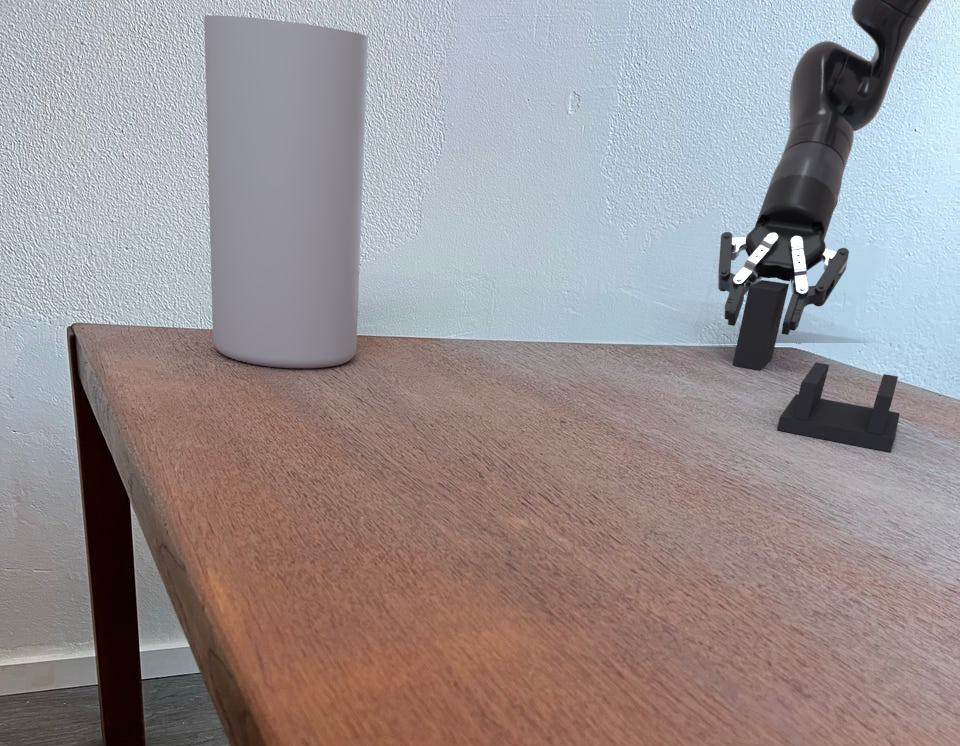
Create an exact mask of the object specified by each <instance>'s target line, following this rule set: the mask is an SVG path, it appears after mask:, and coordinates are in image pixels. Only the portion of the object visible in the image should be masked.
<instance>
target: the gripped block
mask: <svg viewBox="0 0 960 746" xmlns="http://www.w3.org/2000/svg"><path fill="white" fill-rule="evenodd" d="M789 286H790V283H787V282H786V283H785V282H778V281H772V280H766V279H761V280H760V281H759V282H757V283H755V284H753V285H751V286H750V287H749V290H748V292H747V293H746V300H745V305H744V309H743V313H742V318H741V323H740V327H739V333H738V337H737V341H736V345H735V351H734V356H733V360H732V366H733V365H734V366H735V367H740V368H744V367H745V369H751V370H756V371H761V370H762V369H763V368H764V367H765V366H766V365H768V363H769V362H770V361H771V360H772V359H773V357H774V356H773V355H774V352H775V348H776V342H777V339H778V334H779V330H780V325H781V322H782V321H781V320H782V316H783V313H784V308H785V303H786V300H787V295H788V291H789V288H790V287H789Z"/></svg>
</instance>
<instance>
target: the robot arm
mask: <svg viewBox="0 0 960 746" xmlns="http://www.w3.org/2000/svg"><path fill="white" fill-rule="evenodd" d="M931 2H932V0H854V2H853V4H852V7H851V13H850V14H851V17H852V20H853V21H854V22H855V24H856V25H857V26H858V27H859V28H860V29H861V30H863V32H865V34H866V35H867V36H869V37H870V38H871V39H872V41H873V42H874V46H875V50H874V53H873V56H872V58H871V60H868V59H866V58H865V57H862V55H859V54H857V53H856V52H854V51H852V50H850V49H848V48H846V47H844V46H843V45H841V44H839V43H838V42H834V41H830V40H825V41H820V42H818V43H816V44H814V45H812V46H811V47H810V48H808V49H807V50H806V51H805V52H804V54H802V56H801V58H800V59H799V60H798V63H797V65H796V66H795V69H794V72H793V75H792V78H791V82H790V88H789V102H788V103H789V129H788V130H789V132H788V137H787V140H786V143H785V146H784V149H783V151H782V155H781V158H780V160H779V162H778V164H777V165H776V167H775V170H774V171H773V174H772V176H771V179H770V182H769V185H768V187H767V191H766V193H765V195H764V199H763V202H762V205H761V208H760V211H759V213H758V216H757V219H756V222H755V225H754V227H753V229H752V230H751V231H750V232H749V233H748V234H746V236H743V237H742V236H739V237H733V233H732V232H731V231H724V232H723V233H722V234H721V235H720V246H719V258H718V259H719V260H718V273H717V274H718V277H717V278H718V279H717V289H718V290H719V291H720V292H728V296H727V299H726V302H725V304H724V320H727V326H733V327H736V325H737V322H738V319H739V316H740V313H741V309H742V306H743V304H744V302H745V296H746V295H747V294H748V290H749V287H750V286H751V285H753V284H755V283H757V282H759V281H761V280H763V279H762V278H764V279H778V280H781V281H782V282H783V281H784V282H789V283H790V288H791V297H790V299H789V303H788V305H787V309H786V311H785V314H784V318H783V322H782V325H781V327H782V328H781V335H784V336H785V335H787V336H789V335H790V332H791V331H794V332H795V331H796V330H797V328H798V327H799V325H800V321H801V318H802V314H803V312H804V309H805V308H806V307H807V306H809V305H814V306H815V307H823V306H824V305H825V303H826V301H827V300H828V299H829V297H830V296H831V294H832V292H833V291H834V290H835V287H836V286H837V285H838V283H839V281H840V279H842V277H843V275H844V273H845V272H846V269H847V265H848V260H849V254H850V251H849V249H848V248H846V247H840V248H839V249H837V251H836V250H833V249H830V248H827V246H826V242H825V239H826V236H827V233H828V230H829V227H830V224H831V220H832V218H833V214H834V212H835V210H836V207H837V205H838V202H839V196H840V192H841V189H842V183H843V176H844V172H845V169H846V166H847V164H848V160H849V157H850V155H851V151H852V148H853V145H854V140H855V139H854V138H855V134H854V132H857V131H859V130H862V129H864V128H865V127H866V126H867V125H869V124H870V123H871V122H872V121H873V120H874V119H875V117H876V116H877V115H878V113H879V111H880V109H881V107H882V105H883V103H884V100H885V97H886V95H887V92H888V89H889V86H890V83H891V81H892V77H893V75H894V72H895V70H896V67H897V65H898V61H899V60H900V57H901V55H902V52H903V51H904V48H905V46H906V44H907V42H908V39H909V37H910V36H911V34H912V32H913V30H914V29H915V27H916V25H917V23H918V22H919V20H920V18H921V17H922V16H923V14H924V13H925V11H926V10H927V8H928V7H929V5H930V3H931ZM742 251H745V253H746V254H747V257H748V258H747V259H746V260H745V262H744V265H743V266H742V267H741V268H740V269H739V271H738V272H737V273H736V274H734V273H732V272H731V271H732V270H731V269H732V261H736V259H737V258H738V257H739V255H740V253H741V252H742ZM821 262H823V263H824V265H823V273H822V274H821V276H820V278H819V279H818V281H817V282H816V283H815V285H809V283H808V276H807V272H808V271H809V270H811V269H812V268H814V267H815V266H816V265H818V264H819V263H821Z"/></svg>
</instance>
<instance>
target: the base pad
mask: <svg viewBox="0 0 960 746" xmlns="http://www.w3.org/2000/svg"><path fill="white" fill-rule="evenodd" d="M829 367H830V364H827V363H823V362H822V363H821V362H815V363H814V364H813V366H812V367H811V368H810V370H809V371H808V372H807V374H806V375H805V377H804V378H803V379H802V380H801V383H800V387H799V391H798V394H797V393H795V395H794V396H793V397H792V399H791V401H790V402H789V403H788V405H787V406H786V408H785V409H784V410H783V412H782V413H781V415H780V416H779V418H778V419H779V420H778V424H777V428H776V431H780V432H784V433H789V434H794V435H799V436H804V437H810V438H816V439H820V440H824V441H831V442H835V443H841V444H845V445H851V446H856V447H861V448H866V449H872V450H875V451H882V452H888V453H891V452H892V450H893V446H894V443H895V439H896V435H897V430H898V424H899V420H900V415H901V414H900V412H897V411H891V409H890V408H891V407H892V402H893V399H894V395H895V390H896V386H897V382H898V380H899V379H898V378H899V376H898V375H892V374H886V373H883V375H882V378H881V381H880V383H879V387H878V390H877V393H876V396H875V400H874V403H873V406H872V407H869V406H863V405H860V404H859V405H858V404H853V403H848V402H847V403H846V402H842V401H837V400H832V399H825V398H822V395H823V391H824V387H825V382H826V379H827V376H828V372H829Z"/></svg>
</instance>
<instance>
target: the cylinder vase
mask: <svg viewBox="0 0 960 746" xmlns="http://www.w3.org/2000/svg"><path fill="white" fill-rule="evenodd" d="M203 22H204V23H203V25H204V29H203V30H204V58H205V59H204V60H205V63H204V64H205V95H206V96H205V97H206V98H205V99H206V132H207V138H206V139H207V169H208V173H207V175H208V205H209V208H208V209H209V241H210V243H209V245H210V278H211V279H210V280H211V284H210V285H211V314H212V315H211V316H212V317H211V318H212V342H213V346H214V348H215V349H216V350H217V351H218V352H219V353H220V354H222V356H223V355H224V356H225V357H228V358H230V359H232V360H234V359H235V361H238V362H241V361H242V362H241V363H245V362H246V363H245V364H251V365H255V366H263V367H270V368H280V369H321V368H322V369H323V368H330V367H335V366H339V365H344V364H345V363H347V362H350V361H351V360H352V359H353V358H354V357H355V355H356V352H357V345H358V344H357V341H358V314H359V291H360V289H359V288H360V266H361V264H360V263H361V239H362V238H361V237H362V213H363V211H362V209H363V187H364V186H363V183H364V159H365V135H366V106H367V85H368V83H367V81H368V57H369V55H368V54H369V53H368V52H369V36H367V35H365V34H362V33H358V32H355V31H349V30H344V29H339V28H333V27H328V26H321V25H314V24H309V23H301V22H294V21H285V20H276V19H268V18H260V17H259V18H258V17H248V16H235V15H218V14H217V15H211V14H210V15H205V16H204V17H203Z"/></svg>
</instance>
